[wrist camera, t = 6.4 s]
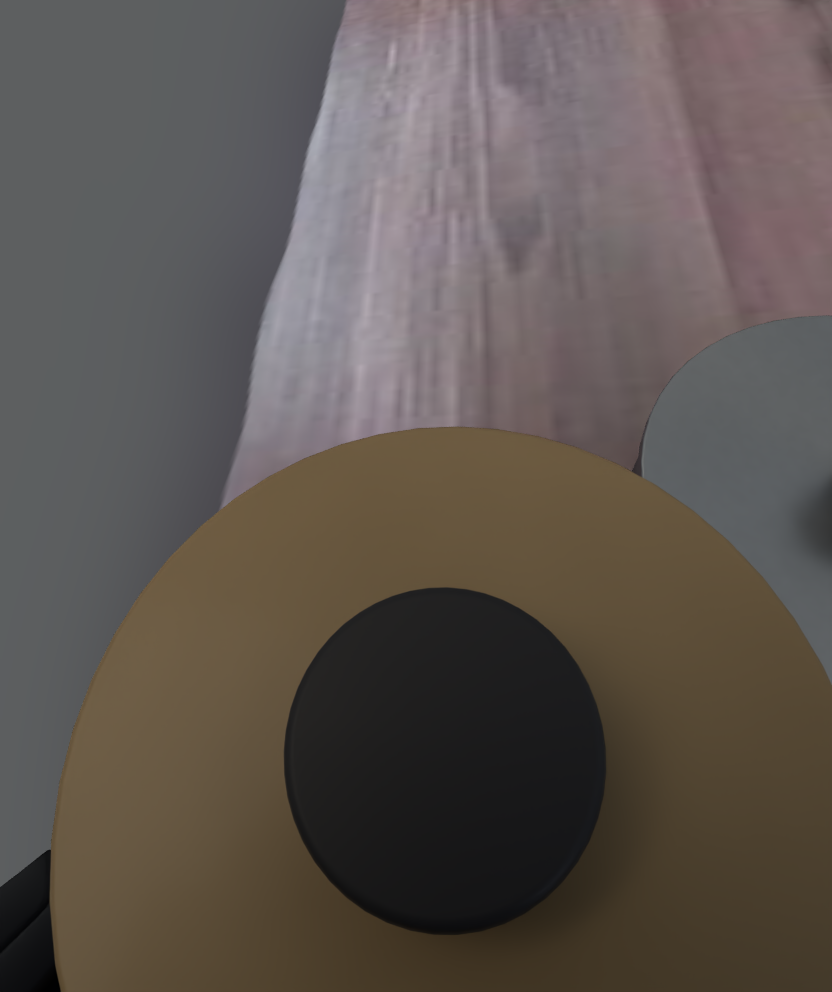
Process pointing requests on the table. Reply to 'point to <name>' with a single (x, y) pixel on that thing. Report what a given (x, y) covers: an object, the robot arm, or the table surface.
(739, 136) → the table surface
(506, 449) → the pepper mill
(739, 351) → the pot lid
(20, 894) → the robot arm
